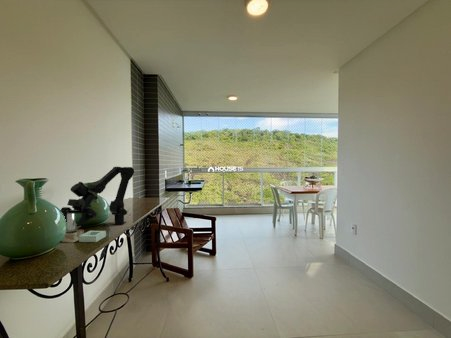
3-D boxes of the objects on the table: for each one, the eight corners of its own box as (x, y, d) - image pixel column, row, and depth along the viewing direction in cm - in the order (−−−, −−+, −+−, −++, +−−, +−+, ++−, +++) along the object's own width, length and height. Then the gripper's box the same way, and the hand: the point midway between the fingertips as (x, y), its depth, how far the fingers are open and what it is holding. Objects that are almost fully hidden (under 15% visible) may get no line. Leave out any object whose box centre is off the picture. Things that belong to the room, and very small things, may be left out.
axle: (70, 238, 120) (70, 212, 119) (77, 238, 120) (76, 212, 119) (65, 240, 116) (65, 214, 116) (72, 240, 116) (71, 214, 116)
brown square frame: (69, 236, 122) (69, 229, 122) (83, 236, 122) (83, 229, 122) (58, 242, 114) (58, 234, 114) (73, 242, 114) (73, 234, 114)
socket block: (90, 236, 123) (90, 230, 123) (105, 236, 123) (105, 230, 123) (78, 241, 114) (78, 236, 114) (96, 242, 114) (95, 236, 114)
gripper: (62, 192, 123) (43, 217, 113) (92, 193, 120) (75, 218, 109) (74, 204, 131) (58, 228, 121) (102, 205, 128) (88, 229, 117)
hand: (69, 226), depth 117 cm, fingers open, 9 cm apart
